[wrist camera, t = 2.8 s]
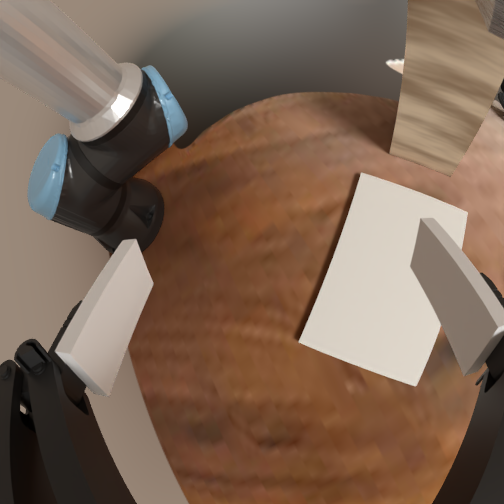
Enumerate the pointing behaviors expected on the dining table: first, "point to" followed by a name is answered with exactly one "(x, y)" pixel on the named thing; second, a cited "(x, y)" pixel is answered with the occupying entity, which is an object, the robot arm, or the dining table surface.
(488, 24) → the brushed metal bar
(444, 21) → the beige zigzag tall box
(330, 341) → the mat
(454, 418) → the dining table surface
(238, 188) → the dining table surface
